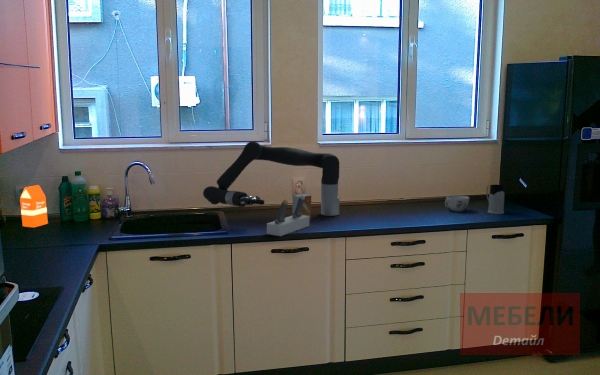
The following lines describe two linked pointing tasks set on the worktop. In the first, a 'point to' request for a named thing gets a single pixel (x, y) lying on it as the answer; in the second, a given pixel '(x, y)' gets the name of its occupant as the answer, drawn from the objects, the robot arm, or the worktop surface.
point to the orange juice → (33, 207)
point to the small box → (306, 205)
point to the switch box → (287, 225)
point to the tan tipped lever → (282, 210)
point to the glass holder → (496, 199)
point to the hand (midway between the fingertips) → (263, 202)
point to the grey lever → (299, 205)
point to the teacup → (457, 202)
